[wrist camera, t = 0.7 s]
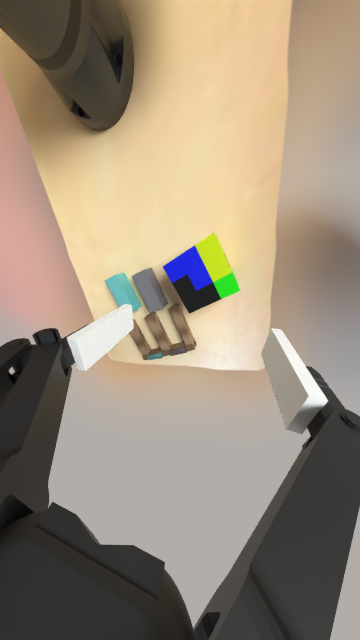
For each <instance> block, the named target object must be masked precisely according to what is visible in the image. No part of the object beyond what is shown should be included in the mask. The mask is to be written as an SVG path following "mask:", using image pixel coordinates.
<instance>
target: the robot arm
mask: <svg viewBox="0 0 360 640" xmlns="http://www.w3.org/2000/svg"><path fill="white" fill-rule="evenodd" d="M0 28H1V29H2V30H3V31H4V32H5V33H6V34H7V35H8V36H9V37H10V38H11V39H12V40H13V41H14V42H15V43H16V44H17V45H18V46H19V47H20V48H21V49H22V50H23V51H25V52H26V53H27V54H28V55H29V56H30V57H31V58H32V59H33V60H34V61H35V62H36V63H37V64H38V66H39V67H40V69H41V70H42V72H43V73H44V75H45V76H46V78H47V79H48V80H49V82H50V83H51V85H52V86H53V88H54V89H55V91H56V92H57V94H58V95H59V97H60V98H61V100H62V101H63V103H64V104H65V106H66V107H67V108H68V109H69V110H70V112H71V113H72V114H73V115H74V116H76V117H77V118H78V119H79V120H80V121H81V122H82V123H83V124H85V125H86V126H88V127H89V128H92V129H95V130H104V129H107V128H109V127H111V126H112V125H114V124H115V123H116V122H117V121H118V119H119V118H120V117H121V115H122V114H123V112H124V110H125V108H126V105H127V103H128V100H129V97H130V93H131V88H132V82H133V72H134V55H133V45H132V38H131V33H130V29H129V25H128V22H127V19H126V16H125V14H124V11H123V9H122V7H121V4H120V2H119V0H0ZM132 329H134V323H133V313H132V305H129V304H124V305H122V306H120V307H119V308H117V309H115V310H113V311H112V312H110V313H108V314H107V315H105V316H103V317H101V318H100V319H98V320H96V321H94V322H93V323H91V324H88V325H86V326H84V327H82V328H81V329H79V330H77V331H75V332H73V333H71V334H70V335H68V336H66V337H64V338H63V339H61V337H60V334H59V332H58V330H57V329H55V328H49V329H44V330H41V331H38V332H36V333H35V334H33V338H34V340H35V342H36V344H37V345H31V343H30V341H29V339H25V338H22V339H16V340H12V341H10V342H7V343H6V344H4V345H2V346H1V347H0V640H330V636H331V631H332V627H333V623H334V618H335V614H336V609H337V605H338V600H339V596H340V591H341V587H342V583H343V578H344V573H345V569H346V565H347V560H348V556H349V551H350V547H351V542H352V538H353V534H354V529H355V525H356V520H357V516H358V511H359V507H360V417H359V416H358V415H356V414H355V413H353V412H351V411H349V410H346V409H345V408H344V406H343V405H342V404H341V402H340V401H339V400H338V398H337V397H336V395H335V394H334V393H333V391H332V390H331V389H330V388H329V386H328V385H327V383H326V382H325V381H324V379H323V378H322V377H321V375H320V374H319V373H318V372H317V371H316V370H314V369H313V368H312V367H309V366H305V365H304V363H303V362H302V360H301V359H300V357H299V356H298V354H297V353H296V351H295V350H294V348H293V347H292V345H291V344H290V342H289V341H288V339H287V338H286V336H285V335H284V333H283V332H282V330H280V329H273V328H271V330H270V332H269V335H268V337H267V340H266V343H265V345H264V348H263V350H262V353H261V355H262V358H263V361H264V364H265V367H266V370H267V373H268V376H269V379H270V381H271V385H272V388H273V391H274V394H275V397H276V400H277V403H278V406H279V409H280V412H281V415H282V418H283V421H284V424H285V427H286V429H287V430H290V431H294V432H297V433H300V434H302V433H303V432H304V431H305V430H306V428H308V430H309V432H310V435H311V437H310V438H309V439H308V440H307V441H306V443H305V444H304V445H303V446H302V447H303V449H302V451H301V453H300V454H299V455H298V457H297V459H296V461H295V462H294V464H293V466H292V467H291V469H290V471H289V472H288V474H287V476H286V477H285V479H284V481H283V483H282V484H281V486H280V488H279V489H278V491H277V493H276V494H275V496H274V498H273V500H272V501H271V503H270V504H269V506H268V508H267V510H266V511H265V513H264V515H263V516H262V518H261V520H260V522H259V523H258V525H257V526H256V528H255V530H254V531H253V533H252V535H251V537H250V538H249V540H248V542H247V543H246V545H245V547H244V548H243V550H242V552H241V554H240V555H239V557H238V559H237V560H236V562H235V564H234V565H233V567H232V569H231V570H230V572H229V574H228V575H227V577H226V578H225V579H224V581H223V582H222V584H221V585H220V586H219V588H218V589H217V590H216V592H215V594H214V595H213V597H212V598H211V600H210V602H209V604H208V605H207V607H206V608H205V610H204V612H203V613H202V615H201V617H200V618H199V620H198V622H197V623H196V625H195V627H194V628H193V627H192V623H191V620H190V617H189V614H188V612H187V608H186V605H185V603H184V600H183V598H182V596H181V594H180V592H179V590H178V588H177V586H176V585H175V583H174V581H173V580H172V578H171V576H170V575H169V574H168V573H167V571H166V570H165V569H164V566H165V562H163V561H161V560H160V559H158V558H156V557H154V556H152V555H150V554H148V553H147V552H145V551H143V550H141V549H139V548H137V547H135V546H133V545H100V543H99V542H98V540H97V539H96V538H95V536H94V535H93V533H91V531H90V530H89V529H88V528H87V526H86V525H85V524H84V523H83V522H82V521H81V519H80V518H79V517H78V516H77V515H76V514H74V513H72V512H70V511H68V510H67V509H65V508H63V507H61V506H59V505H57V504H56V503H54V502H52V504H51V505H50V506H49V508H48V505H49V491H48V479H49V474H50V470H51V465H52V461H53V456H54V451H55V447H56V442H57V437H58V433H59V428H60V423H61V419H62V413H63V409H64V405H65V400H66V395H67V391H68V386H69V381H70V377H71V372H72V367H71V365H73V363H75V364H76V367H77V369H80V370H83V371H87V370H88V369H89V368H90V367H91V366H92V365H93V364H94V363H95V362H97V361H98V360H99V359H100V358H101V357H102V356H103V355H104V354H106V353H107V352H108V351H109V350H110V349H111V348H112V347H113V346H115V345H116V344H117V343H118V342H119V341H120V340H121V339H122V338H123V337H125V336H126V335H127V334H128V333H129V332H130V331H131V330H132ZM11 367H13V369H14V371H15V373H13V374H12V375H11V374H10V373H9V369H10V368H11Z"/></svg>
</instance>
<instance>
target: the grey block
mask: <svg viewBox="0 0 360 640" xmlns="http://www.w3.org/2000/svg"><path fill="white" fill-rule="evenodd" d="M132 278H133V280H134V282H135V284H136V286H137V288H138V290H139V292H140V294H141V296H142V298H143V299H144V301H145V303H146V305H147V307H148V309H149V311H150V313H151V312H154V311H157V310H159V309H162V308H164V307H165V306H166V305H167V304H168V302H167V300H166V298H165V296H164V294H163V291H162V289H161V287H160V285H159V283H158V280H157V278H156V276H155V274H154V272H153V270H152V268H149V269H145V270H143V271H141V272H139V273H137V274H135V275H133V276H132Z"/></svg>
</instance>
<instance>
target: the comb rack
mask: <svg viewBox="0 0 360 640" xmlns="http://www.w3.org/2000/svg"><path fill="white" fill-rule="evenodd" d="M169 310H170V313H171V315H172V317H173V319H174V321H175V323H176V325H177V327H178V330H179V332H180V334H181V336H182V338H183V340H184V342H182V343H178V344H173V345H172V344H171V342H170V340H169V338H168V336H167V334H166V332H165V330H164V328H163V326H162V324H161V322H160V320H159V318H158V316H157V314H156V312H154V313H151V314H148V315H147V316H146V317H145V319H146V321H147V323H148V325H149V327H150V329H151V331H152V333H153V334H154V336H155V338H156V340H157V342H158V344H159V346H160V348H157V349H152V350H151V348H150V346H149V345H148V343H147V341H146V339H145V337H144V336H143V334H142V332H141V330H140V328H139V327H138V325H137V323H136V321H135V320H133V323H134V329H132V330H131V331H130V334H131V336H132V338H133V339H134V341H135V343H136V344H137V346H138V348H139V350H140V351H141V353H142V355H143V356H142V357H143V359H144V360H148V359H149V360H153V359H158V358H163V356H167V355H171V356H172V355H177V354H182V353H187V351H191V350H194V349H195V346H196V342H195V340H194V338H193V335H192V333H191V331H190V329H189V326H188V324H187V322H186V320H185V317H184V315H183V313H182V311H181V308H180V306H179V304H176V305H173V306H171V307H170V309H169Z"/></svg>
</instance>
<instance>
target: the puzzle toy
mask: <svg viewBox="0 0 360 640" xmlns="http://www.w3.org/2000/svg"><path fill="white" fill-rule="evenodd" d="M163 268H164V270H165V271H166V273H167V275H168V277H169V278H170V280H171V282H172V284H173V286H174V287H175V289H176V291H177V293H178V294H179V296H180V298H181V300H182V301H183V303H184V305H185V307H186V308H187V310H188V312H189V313H191V312H194V311H196V310H198V309H200V308H202V307H205V306H207V305H209V304H211V303H214V302H216V301H218V300H220V299H222V298H225V297H227V296H229V295H231V294H234V293H236V292H238V291H240V289H239V286H238V283H237V280H236V278H235V276H234V274H233V271H232V269H231V267H230V265H229V263H228V260H227V258H226V256H225V254H224V251H223V249H222V247H221V245H220V242H219V240H218V238H217V236H216V235H215V233H213V234H211V235H210V236H208V237H207V238H205V239H204V240H202V241H201V242H199V243H198V244H196V245H195V246H193V247H192V248H190V249H189V250H187V251H186V252H184V253H183V254H181V255H180V256H178V257H177V258H175V259H174V260H172V261H171V262H169V263H168V264H166V265H165V266H163Z"/></svg>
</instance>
